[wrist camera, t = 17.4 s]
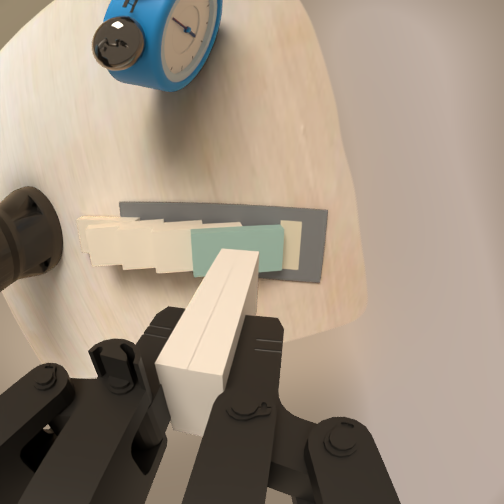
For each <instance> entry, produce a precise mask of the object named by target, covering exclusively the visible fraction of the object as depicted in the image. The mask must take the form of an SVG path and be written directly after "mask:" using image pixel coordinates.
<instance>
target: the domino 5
mask: <svg viewBox="0 0 504 504" xmlns="http://www.w3.org/2000/svg"><path fill="white" fill-rule="evenodd" d="M283 244H284V228H283V227H282V226H281V225H280V224H279V225H257V226H237V227H219V228H202V229H191V246H192V261H193V274H194V277H205V275H206V274H207V272H208V270H209V269H210V267H211V265H212V264H213V262H214V260H215V259H216V257H217V255H218V254H219V252H220V250H221V249H235V250H247V251H259V272H269V271H281V270H282V261H283Z"/></svg>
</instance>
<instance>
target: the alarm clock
mask: <svg viewBox="0 0 504 504" xmlns="http://www.w3.org/2000/svg"><path fill="white" fill-rule="evenodd" d="M221 15H222V0H111V2H110V4H109V6H108V9H107V11H106V14H105V17H104V21H103V23H102V24H101V25H100V26H99V27H98V29H97V30H96V32H95V34H94V36H93V40H92V52H93V55H94V58H95V59H96V61H97V62H98V63H99V64H100V65H101V66H102V67H104V68H106V69H107V70H108V71H109V73H110V74H111V75H112V76H113V77H114V78H115V79H116V80H118V81H120V82H123V83H127V84H133V85H138V86H143V87H148V88H153V89H157V90H162V91H166V92H174V91H178V90H180V89H182V88H184V87H185V86H187V85H188V84H189V83H190V82H191V81H192V80H193V79H194V78H195V77H196V75H197V74H198V73H199V71H200V70H201V68H202V67H203V65H204V63H205V62H206V60H207V58H208V56H209V54H210V52H211V49H212V47H213V44H214V42H215V39H216V36H217V33H218V29H219V25H220V20H221Z"/></svg>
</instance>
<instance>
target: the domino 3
mask: <svg viewBox="0 0 504 504" xmlns="http://www.w3.org/2000/svg"><path fill="white" fill-rule="evenodd" d="M196 224H202V220H194V221H179V222H165V223H152V224H139V225H127V226H119V228H118V230H117V234H118V241H119V248H120V254H121V260H122V266H123V270H130V269H144V268H156V267H155V259H154V250H153V241H152V229H153V227H166V226H180V225H196Z"/></svg>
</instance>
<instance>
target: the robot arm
mask: <svg viewBox="0 0 504 504" xmlns="http://www.w3.org/2000/svg"><path fill="white" fill-rule="evenodd" d="M61 253H62V233H61V228H60V224H59V220H58V217H57V215H56V212H55V210H54V208H53V206H52V205H51V203H50V201H49V200H48V199H47V197H46V196H45V195H44V194H43V193H42V192H41V191H39V190H38V189H36V188H34V187H30V186H27V187H23V188H20V189H17V190H15V191H13V192H12V193H10V194H9V195H8V196H7V197H6V198H5V199H4V200H3V201H2V202H1V203H0V292H1V291H2V290H4V289H5V288H6V287H8V286H9V285H10V284H12V283H13V282H15V281H16V280H18V279H22V278H27V277H32V276H37V275H42V274H44V273H46V272H48V271H49V270H51V269H52V268H54V267H55V266H56V265H57V263H58V262H59V260H60V257H61ZM258 272H259V251H247V250H235V249H221V250H220V252H219V254H218V255H217V257H216V259H215V260H214V262H213V264H212V265H211V267H210V269H209V270H208V272H207V274H206V275H205V277H204V279H203V280H202V282H201V284H200V285H199V287H198V289H197V291H196V292H195V294H194V296H193V297H192V299H191V301H190V302H189V304H188V306H187V308H186V309H183V308H176V307H169V306H168V307H167V308H165V309H164V310H162V311H161V312H159V313H158V314H156V316H155V317H154V319H153V320H152V322H151V323H150V326H148V327H147V329H146V330H145V332H144V335H142V336H141V338H140V339H139V341H138V342H137V343H136V345H135V344H134V343H133V342H130V341H128V340H125V339H110V340H104V341H102V342H100V343H98V344H95V345H94V346H93V347H92V348H91V349H90V350H88V352H89V355H90V357H91V360H92V362H93V365H94V367H95V370H96V372H97V375H98V377H97V379H77V378H70V377H69V375H68V373H67V371H66V370H65V369H64V367H63V366H61V365H58V364H56V363H46V364H42V365H39V366H37V367H36V368H34V369H33V370H31V371H30V372H29V373H27V374H26V375H25V376H24V377H22V378H21V379H20V380H19V381H17V382H16V383H15V384H13V385H12V386H11V387H10V388H8V389H7V390H6V391H5V392H4V393H3V394H1V395H0V504H145V501H146V498H147V496H148V493H149V490H150V488H151V485H152V483H153V480H154V478H155V475H156V472H157V470H158V467H159V465H160V462H161V459H162V457H163V454H164V452H165V449H166V447H167V437H166V435H165V431H166V429H167V427H168V424H169V422H170V421H171V424H172V427H173V430H175V431H180V432H184V433H189V434H193V435H198V436H203V438H202V441H201V444H200V448H199V451H198V454H197V457H196V460H195V464H194V467H193V470H192V473H191V476H190V479H189V482H188V486H187V488H186V492H185V495H184V498H183V501H182V504H265V499H266V492H267V487H269V488H272V489H275V490H277V491H280V492H283V493H285V494H288V495H291V497H292V502H293V504H401V503H400V501H399V498H398V496H397V493H396V491H395V489H394V486H393V484H392V481H391V479H390V477H389V474H388V472H387V470H386V467H385V465H384V462H383V460H382V458H381V455H380V453H379V451H378V448H377V446H376V444H375V442H374V439H373V437H372V435H371V433H370V432H369V431H368V429H367V428H366V426H364V425H363V424H361V423H360V422H358V421H357V420H354V419H350V418H346V417H332V418H329V419H326V420H323V421H321V422H320V423H318V424H316V423H313V422H310V421H307V420H304V419H301V418H299V417H296V416H294V415H292V414H291V413H290V412H289V411H287V410H286V409H285V408H284V407H283V405H282V404H281V402H280V399H279V394H278V388H279V378H280V368H281V356H282V345H283V333H284V328H283V326H282V325H281V323H280V321H279V319H278V318H272V317H262V316H256V312H257V295H258ZM47 424H48V425H49V426H50V429H43V428H44V427H45V426H46V425H47Z"/></svg>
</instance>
